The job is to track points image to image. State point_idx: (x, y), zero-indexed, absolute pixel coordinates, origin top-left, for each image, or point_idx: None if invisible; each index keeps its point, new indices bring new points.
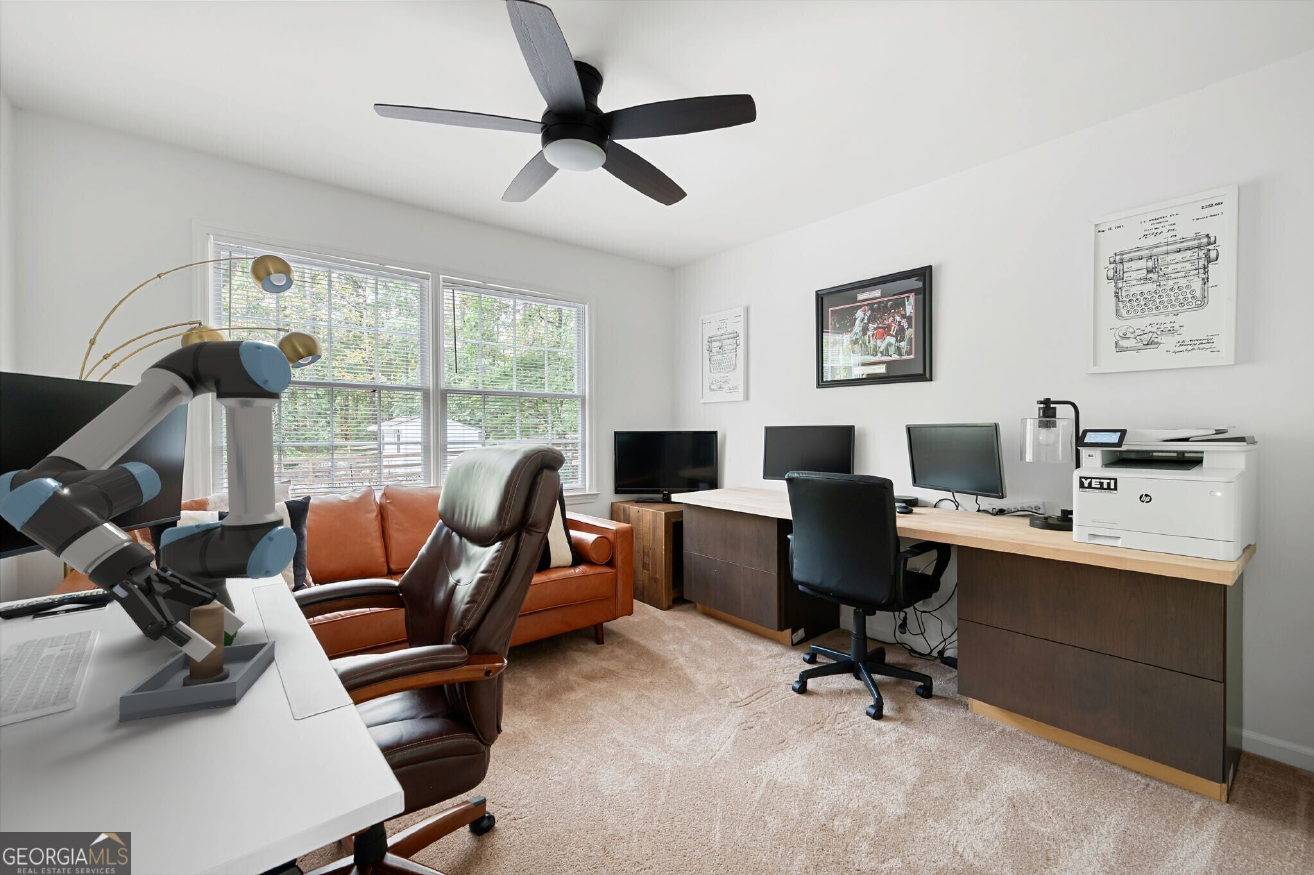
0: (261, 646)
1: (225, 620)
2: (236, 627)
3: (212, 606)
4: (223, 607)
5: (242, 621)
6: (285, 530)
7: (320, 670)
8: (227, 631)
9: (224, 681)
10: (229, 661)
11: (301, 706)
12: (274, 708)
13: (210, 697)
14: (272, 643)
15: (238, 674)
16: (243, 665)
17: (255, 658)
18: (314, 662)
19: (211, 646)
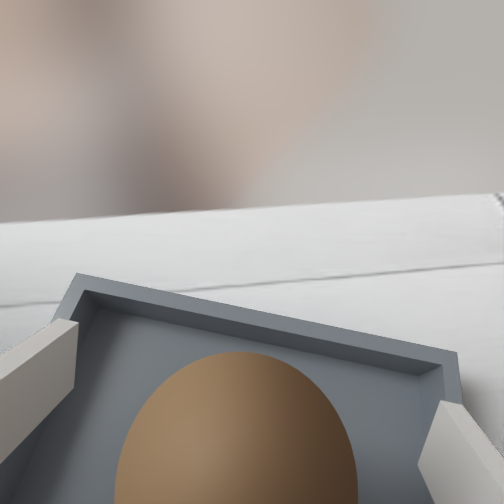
0: (78, 312)
1: (25, 402)
2: (70, 359)
3: (214, 436)
4: (263, 356)
5: (63, 327)
6: None
7: (271, 212)
8: (55, 401)
9: (445, 384)
10: (55, 418)
11: (478, 248)
12: (474, 291)
13: None
14: (102, 278)
15: (393, 352)
16: (143, 369)
17: (251, 317)
18: (200, 219)
19: (468, 415)
